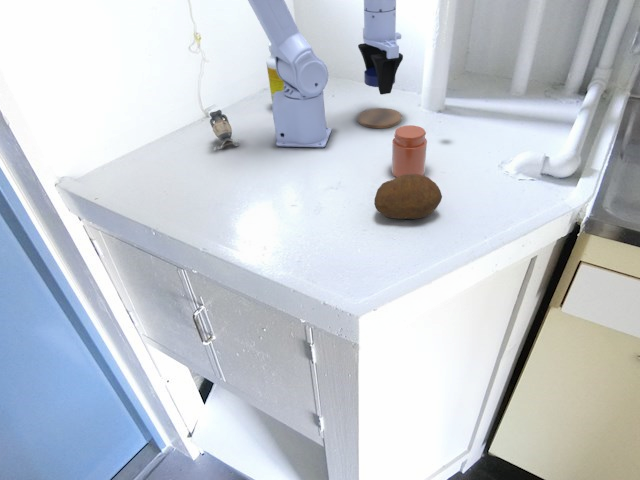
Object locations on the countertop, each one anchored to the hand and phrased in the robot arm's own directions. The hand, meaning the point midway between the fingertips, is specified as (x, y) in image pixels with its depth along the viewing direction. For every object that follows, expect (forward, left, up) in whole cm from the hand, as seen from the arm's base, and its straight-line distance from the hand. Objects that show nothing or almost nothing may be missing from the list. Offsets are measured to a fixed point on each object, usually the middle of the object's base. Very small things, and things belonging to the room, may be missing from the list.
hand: (379, 88), depth 92 cm
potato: (+7, -35, -6) cm, 36 cm away
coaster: (0, 0, -6) cm, 6 cm away
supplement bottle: (-21, +6, -6) cm, 23 cm away
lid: (0, 0, +3) cm, 3 cm away
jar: (+7, -22, -6) cm, 24 cm away
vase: (-29, -13, -6) cm, 32 cm away
